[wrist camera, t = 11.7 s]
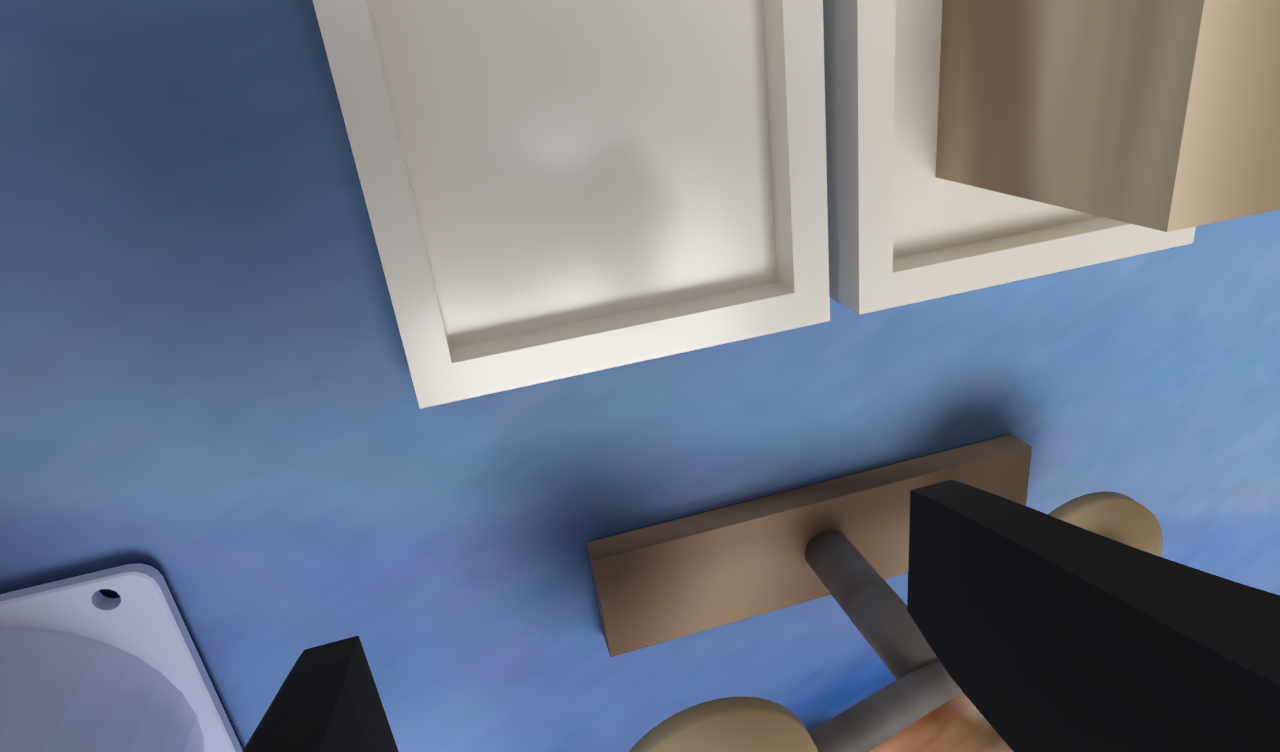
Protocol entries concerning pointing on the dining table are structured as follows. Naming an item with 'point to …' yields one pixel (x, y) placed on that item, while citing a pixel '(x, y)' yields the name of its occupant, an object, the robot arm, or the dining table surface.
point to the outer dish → (928, 178)
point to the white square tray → (585, 177)
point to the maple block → (1115, 105)
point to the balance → (814, 588)
